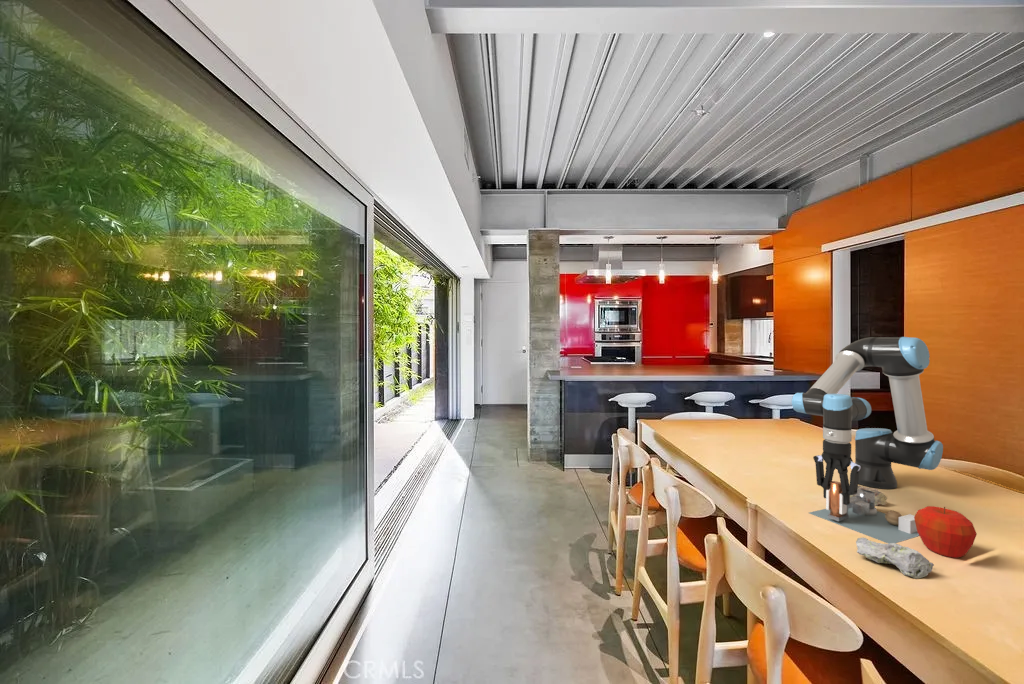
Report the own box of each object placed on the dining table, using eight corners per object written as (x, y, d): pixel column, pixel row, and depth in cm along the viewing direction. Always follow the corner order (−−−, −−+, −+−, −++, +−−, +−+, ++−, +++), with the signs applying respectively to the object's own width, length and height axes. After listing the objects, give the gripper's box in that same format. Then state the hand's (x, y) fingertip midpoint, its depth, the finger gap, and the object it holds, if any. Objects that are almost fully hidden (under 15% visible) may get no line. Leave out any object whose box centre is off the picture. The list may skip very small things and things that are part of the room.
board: (851, 505, 154) (851, 491, 154) (937, 534, 132) (937, 517, 132) (807, 516, 146) (807, 501, 145) (890, 548, 123) (891, 531, 123)
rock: (890, 495, 149) (873, 481, 158) (853, 492, 152) (839, 479, 161) (888, 513, 150) (872, 498, 160) (851, 510, 153) (837, 496, 162)
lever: (860, 505, 149) (861, 472, 149) (881, 512, 144) (881, 477, 143) (825, 516, 141) (825, 481, 140) (845, 523, 135) (845, 487, 135)
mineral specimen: (852, 561, 116) (852, 537, 116) (856, 552, 121) (856, 529, 121) (931, 585, 105) (931, 558, 105) (932, 574, 110) (932, 549, 110)
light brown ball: (890, 520, 139) (890, 507, 139) (906, 526, 135) (906, 512, 135) (882, 523, 137) (882, 509, 137) (898, 528, 133) (898, 515, 133)
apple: (902, 544, 125) (903, 498, 125) (943, 545, 125) (944, 498, 125) (944, 567, 113) (944, 515, 113) (989, 568, 113) (990, 516, 112)
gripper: (803, 436, 144) (803, 504, 145) (859, 448, 130) (859, 523, 130) (816, 434, 148) (816, 500, 148) (872, 445, 133) (871, 518, 133)
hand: (836, 510), depth 139 cm, fingers closed on lever, 3 cm apart
